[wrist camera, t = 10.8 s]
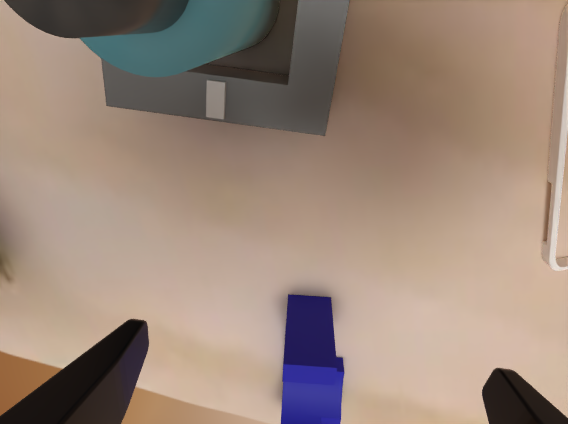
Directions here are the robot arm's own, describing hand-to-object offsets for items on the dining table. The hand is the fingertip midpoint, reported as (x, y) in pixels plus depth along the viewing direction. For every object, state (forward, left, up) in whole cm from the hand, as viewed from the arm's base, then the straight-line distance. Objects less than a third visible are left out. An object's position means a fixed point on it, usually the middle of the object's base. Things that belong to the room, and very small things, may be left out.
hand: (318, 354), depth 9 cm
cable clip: (+3, -15, -14) cm, 21 cm away
